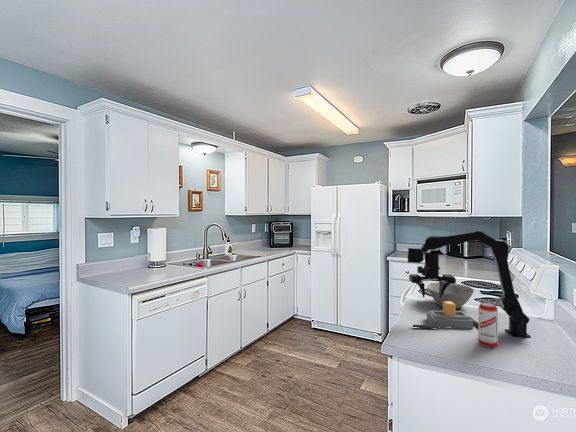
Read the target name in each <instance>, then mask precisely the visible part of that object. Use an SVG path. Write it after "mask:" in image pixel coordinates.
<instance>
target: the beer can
mask: <svg viewBox="0 0 576 432" xmlns="http://www.w3.org/2000/svg"><path fill="white" fill-rule="evenodd" d="M498 315H499V309H498V308H497V304H496V303H493V302H489V301H481V302H480V304H479V306H478V327H477V328H478V329H477V330H478V332H477V333H478V338H477V339H478V342H479V344H480V345H481V344H482V345H481V346H483V345H484V346H483V347H485V346H488V347H487V348H489V347H494V348H495V347H497V346H499V345H498V344H499V343H498V341H499V335H498V334H499V332H498V331H499V325H498V324H499V316H498Z"/></svg>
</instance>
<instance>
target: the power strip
mask: <svg viewBox="0 0 576 432" xmlns="http://www.w3.org/2000/svg"><path fill="white" fill-rule="evenodd" d="M470 317H471V316H469V315H468V314H467V313H466V312H464V311H463V310H456V316H452V315H444V314H443V310H429V311H426V319H427V320H429V321H430V322H431V323H432V324H433V325H438V326H439V327H451V328H450V329H465V328H469V329H468V330H470V329H472V330H473V329H474V324H473V320H471V318H472V317H471V318H470ZM429 321H428V322H429ZM430 322H429V323H430ZM431 323H430V324H431ZM432 324H431V325H432Z"/></svg>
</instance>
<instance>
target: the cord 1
mask: <svg viewBox="0 0 576 432" xmlns="http://www.w3.org/2000/svg"><path fill="white" fill-rule="evenodd" d="M413 327H417V328H418V327H419V328H437V329H436V330H439V329H440V328H439V326H438V325H432V324H412V328H413Z"/></svg>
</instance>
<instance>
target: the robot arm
mask: <svg viewBox="0 0 576 432" xmlns="http://www.w3.org/2000/svg"><path fill="white" fill-rule="evenodd" d="M473 241H479V242H481V243H482V244H484V245H486V246H488V249H489V251H490V253H491V255H492V258H493V259H494V261H495V265H496V269H497V275H498V279H499V282H500V288H501V291H502V294H501V295H502V296H499V297H498V301H499V303H500V304H499V306H500V307H501V309H502V311H504V312H505V313H506V315H507V316H508V328H505V329H504V331H505V332H507V333H508V334H509V335H511V336H512V337H514V338H531V335H530V334H529V333H528V332H527V331H528V330H527V329H528V323H529V322H530V321H531V320H530V318H529V317H528V315H527V314H525V312H523V308H522V306H521V304H520V301H519V300H518V298H517V296H516V294H515V289H514V285H513V281H512V276H511V271H510V268H509V267H510V266H509V263H508V259H509V246H508V243H507V242H505V241H504V240H502V239H499V238H493V237H491V236H489V235H487V234H485V233H484V232H483V231H481V230H477V229H476V230H474V231H473V230H472V231H468V232H461V233H457V234H449V235H429V236H427V237H426V238H425V240H424V243H423V245H422V246H421V247H420V248H414V247H408V250H407V252H408V253H407V263H414V264H416V263H417V264H421V263H422V262H424V264H423V266H421V265H420V266H417V269H416V271H417V273H416V274H411V273H410V274H409V275H408V281H410V282H411V284H416V285H417V286H418V288H419V291H420V292H421V295H422V298H425V296H426V294H425V293H426V292H425V291H426V289H425V283H424V281H425V282H438V283H439V284H440V287H439V297H440V298H441V297H442V295H443V293H444V291H445V289H446V288H447V287H448V285H450V284H457V279H456V277H455V276H452V275H451V274H442V275H441V276H440V271H439V270H441V267H440V265H439V264H440V259H439V258H440V255H441V256H442V255H444V252H443V251H442V250H441V249H440V248H444V247H445V246H446V247H447V246H449V245H454V244H461V243H468V242H473ZM420 274H421V276H420Z"/></svg>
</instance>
